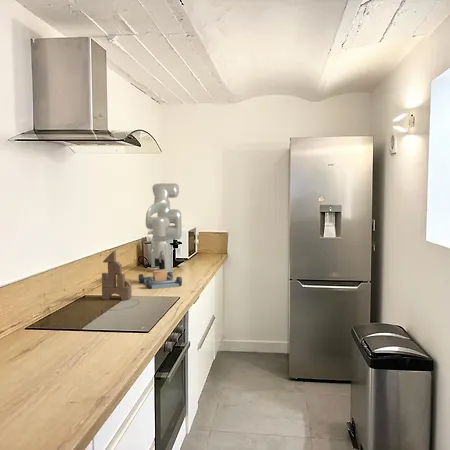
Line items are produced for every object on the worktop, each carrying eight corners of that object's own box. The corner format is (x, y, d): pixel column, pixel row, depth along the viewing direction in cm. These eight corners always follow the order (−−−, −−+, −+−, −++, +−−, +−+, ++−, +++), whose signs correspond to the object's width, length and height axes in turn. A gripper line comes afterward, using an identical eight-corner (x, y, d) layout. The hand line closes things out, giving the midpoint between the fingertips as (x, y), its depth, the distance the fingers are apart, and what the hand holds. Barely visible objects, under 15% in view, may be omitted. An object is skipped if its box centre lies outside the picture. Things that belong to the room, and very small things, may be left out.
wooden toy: (132, 297, 244) (131, 249, 242) (128, 300, 237) (127, 251, 235) (103, 296, 246) (102, 249, 244) (98, 299, 239) (97, 250, 237)
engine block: (152, 281, 279) (152, 271, 279) (164, 280, 282) (164, 270, 282) (155, 282, 275) (155, 272, 274) (166, 281, 278) (166, 271, 277)
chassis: (138, 281, 285) (138, 273, 285) (170, 279, 293) (170, 271, 293) (148, 289, 263) (148, 280, 263) (182, 286, 271) (182, 277, 271)
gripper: (149, 237, 283) (149, 265, 285) (156, 241, 267) (157, 270, 269) (161, 237, 286) (161, 264, 288) (169, 240, 270) (170, 269, 272)
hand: (159, 267), depth 278 cm, fingers open, 9 cm apart
